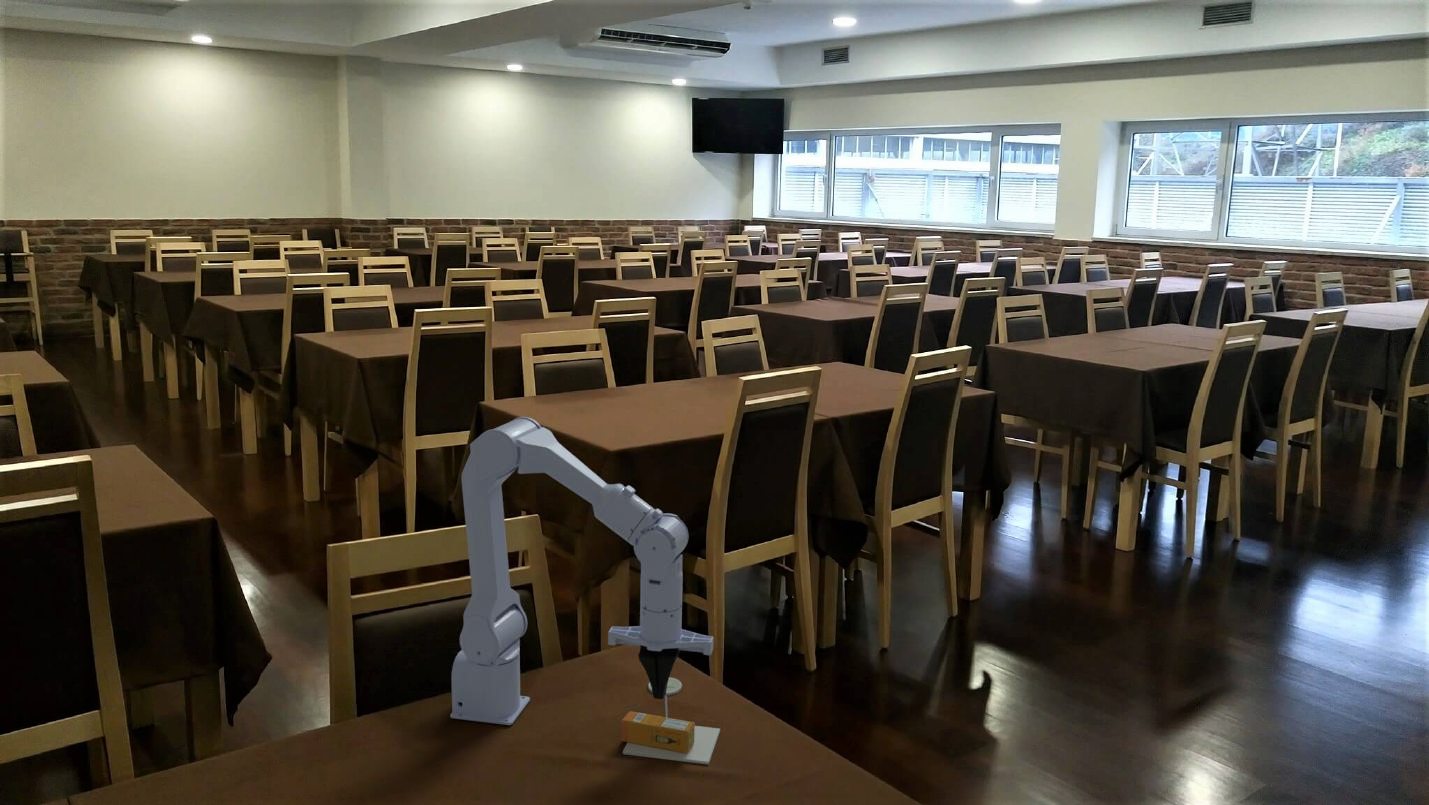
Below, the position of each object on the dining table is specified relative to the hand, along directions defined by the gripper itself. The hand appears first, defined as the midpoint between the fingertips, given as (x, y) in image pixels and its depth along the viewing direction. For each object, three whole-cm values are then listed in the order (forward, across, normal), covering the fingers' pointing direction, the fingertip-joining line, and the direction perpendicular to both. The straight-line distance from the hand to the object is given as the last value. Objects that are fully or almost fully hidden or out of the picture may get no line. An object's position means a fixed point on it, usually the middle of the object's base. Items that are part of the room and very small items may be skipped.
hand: (659, 695), depth 146 cm
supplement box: (+5, -5, 0) cm, 7 cm away
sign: (+8, -2, +11) cm, 13 cm away
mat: (+7, +2, 0) cm, 7 cm away
